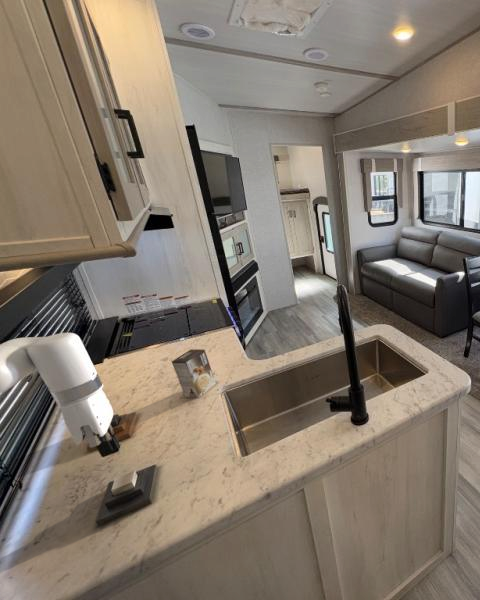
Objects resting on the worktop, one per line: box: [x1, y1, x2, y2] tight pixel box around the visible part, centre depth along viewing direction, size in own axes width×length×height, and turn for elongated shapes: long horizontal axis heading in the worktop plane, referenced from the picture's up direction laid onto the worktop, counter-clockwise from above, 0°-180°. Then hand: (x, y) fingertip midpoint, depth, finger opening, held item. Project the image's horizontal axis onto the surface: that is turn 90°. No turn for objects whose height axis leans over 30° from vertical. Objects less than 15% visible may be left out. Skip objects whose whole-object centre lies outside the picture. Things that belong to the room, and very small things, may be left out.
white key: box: [111, 470, 138, 496], centre depth 76 cm, size 4×4×2 cm
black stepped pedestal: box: [95, 463, 159, 527], centre depth 77 cm, size 10×12×4 cm
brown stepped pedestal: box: [86, 411, 138, 453], centre depth 99 cm, size 10×12×4 cm
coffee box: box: [171, 348, 217, 398], centre depth 116 cm, size 9×6×16 cm
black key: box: [110, 413, 120, 427], centre depth 98 cm, size 4×4×2 cm
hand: (111, 452), depth 73 cm, fingers closed
